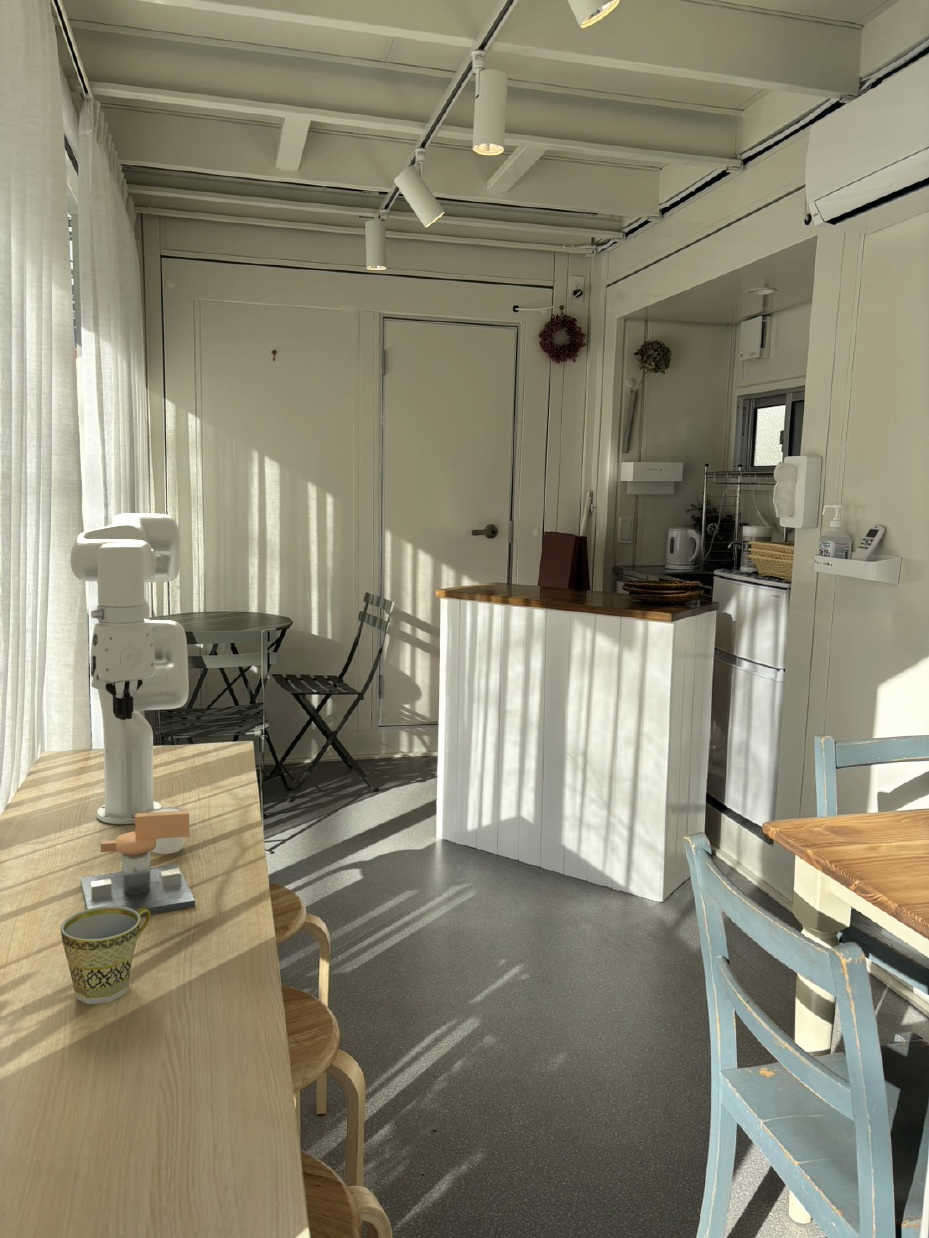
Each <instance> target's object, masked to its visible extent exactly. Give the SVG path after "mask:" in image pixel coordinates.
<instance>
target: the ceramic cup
mask: <svg viewBox="0 0 929 1238" xmlns="http://www.w3.org/2000/svg"><path fill="white" fill-rule="evenodd" d="M145 912H146V913H147V915H146V917H145V918H146V919H145V921H144V923H143V925H142V926H141V920H142V918H141V917H142V916H141V915H142V914H143V913H145ZM151 916H152V915H151V914H150V911H149V910H148V909H146V908H139V909H137V910H136V911H135V910H133V909H130V908H127V907H121V906H102V907H95V908H91V909H87V910H86V909H84V910H80V911H79V912H76V913H74V914H72V915H70V916H69V917H67V918H66V919H65V920H64V921H63V922H62V924H60V933H61V934H60V935H61V941H62V944H63V945H62V946H63V949H64V954H65V957H66V960H67V962H68V963H67V964H68V969H69V973H70V978H71V981H72V987H73V991H74V995H75V996H74V997H75V998H76V1000H77V1001H79V1002H82V1003H84V1004H86V1005H88V1006H89V1005H101V1004H111V1002H113V1001H115V1000H117V999H119V998H121V997H124V996H125V995H126V994H127V991H128V988H129V987H128V986H129V982H130V976H131V969H132V963H133V959H134V958H133V957H134V952H135V950H136V946H137V942H138V939H139V937H140V936H141V935H142V933H143V932H144V931H145V929H146V928H147V927H148V926H149V924H150V921H151Z"/></svg>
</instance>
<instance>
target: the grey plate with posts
mask: <svg viewBox="0 0 929 1238" xmlns="http://www.w3.org/2000/svg"><path fill="white" fill-rule="evenodd" d="M121 868H122V869H121V870H122V871H119V872H111V873H104V874H98V875H92V876H84V877H80V887H81V891H82V897H83V900H84V904H85V910H87V909H91V908H95V907H102V906H121V907H127V908H130V909H133V910H135V911H136V910H137V909H139V908H146V909H148V910H149V911H150V914H151V916H152V915H156V914H163V913H169V912H175V911H180V910H181V911H182V910H186V909H192V908H193V909H194V908H196V900H195V897H194V895H193V893H192V891H191V889H190V887H189V885H188V882H187V880H186V879H185V876H184V874H183V873H182V870H181V869H180V866H179V864H178V863H173V864H168V865H167V864H166V865H160V866H152V867H151V851H149V852H146V853H142V854H135V855H127V854H121ZM140 917H147V913H146V912H145V913H143V914H142V915H141V916H140Z"/></svg>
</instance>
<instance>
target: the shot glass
mask: <svg viewBox="0 0 929 1238" xmlns="http://www.w3.org/2000/svg"><path fill="white" fill-rule="evenodd" d="M170 811H186V810H185V809H183V808H180V807H175V806H168V807H162V808H158V809H154V810H152V811H150V812H149V813H153V812H170ZM183 843H184V837H176V838H161V839H156V847H155V849H153V850H151V852H153V853H154V854H159V855H167V854H174V853H178V852H180V851H181V850H183V845H184V844H183Z"/></svg>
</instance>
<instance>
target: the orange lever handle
mask: <svg viewBox="0 0 929 1238" xmlns="http://www.w3.org/2000/svg"><path fill="white" fill-rule="evenodd" d="M134 825H135V829H134V831H129V832H125V833H122V834H120V835H118V836H116V838H115V839H112V840H101V841H100V842H101V843H100V853H107V852H109V853H111V852H117V853H118V854H121V855H122V854H127V855H135V854H142V853H146V852H149V851H150V852H152V850H153V849H155V847H156V839H161V838H176V837H183V838H187V837H190V810H189V809H187V810H185V811H170V812H153V813H137V814H136V815H135V823H134Z"/></svg>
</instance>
